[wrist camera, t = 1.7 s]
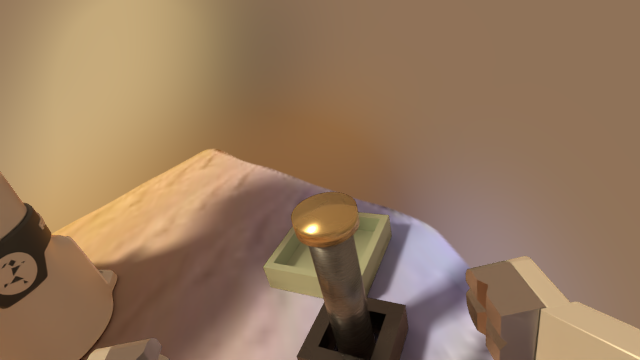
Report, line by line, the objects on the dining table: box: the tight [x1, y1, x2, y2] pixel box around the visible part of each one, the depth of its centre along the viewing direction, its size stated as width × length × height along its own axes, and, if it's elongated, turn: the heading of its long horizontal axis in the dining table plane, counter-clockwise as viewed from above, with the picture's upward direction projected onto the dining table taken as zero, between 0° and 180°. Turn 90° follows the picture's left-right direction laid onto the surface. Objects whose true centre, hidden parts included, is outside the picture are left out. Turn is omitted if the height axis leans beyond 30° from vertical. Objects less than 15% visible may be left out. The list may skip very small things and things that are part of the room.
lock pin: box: [291, 192, 376, 360], centre depth 29 cm, size 4×4×15 cm
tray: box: [263, 212, 392, 298], centre depth 43 cm, size 11×11×3 cm
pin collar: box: [297, 297, 408, 360], centre depth 32 cm, size 7×7×3 cm
